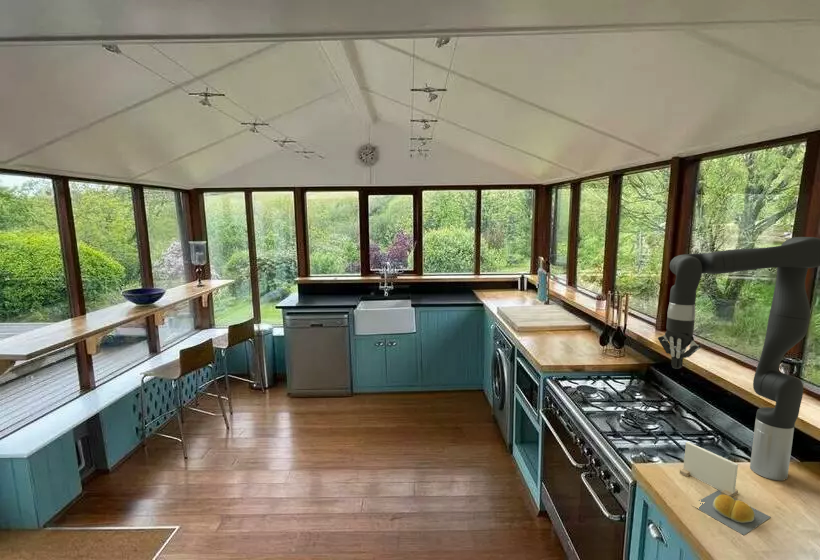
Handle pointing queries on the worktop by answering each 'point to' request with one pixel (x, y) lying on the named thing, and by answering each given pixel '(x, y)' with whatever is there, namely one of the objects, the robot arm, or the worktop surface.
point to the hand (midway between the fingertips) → (676, 368)
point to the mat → (737, 526)
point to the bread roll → (733, 509)
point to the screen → (710, 469)
